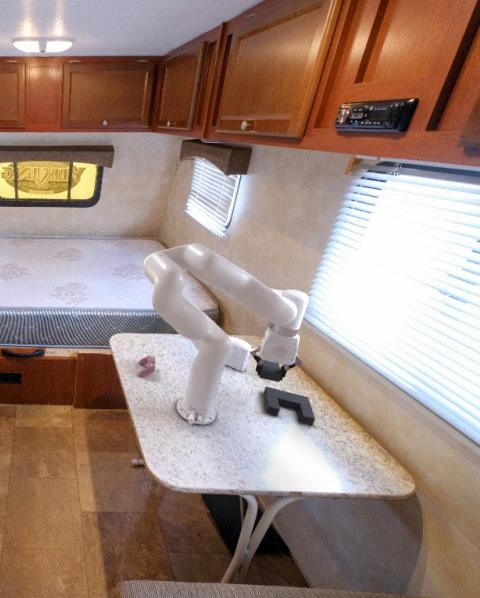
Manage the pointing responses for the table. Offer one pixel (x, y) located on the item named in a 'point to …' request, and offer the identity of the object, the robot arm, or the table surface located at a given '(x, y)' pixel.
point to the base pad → (288, 404)
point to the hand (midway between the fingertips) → (269, 375)
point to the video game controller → (148, 365)
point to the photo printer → (239, 354)
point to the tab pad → (270, 371)
